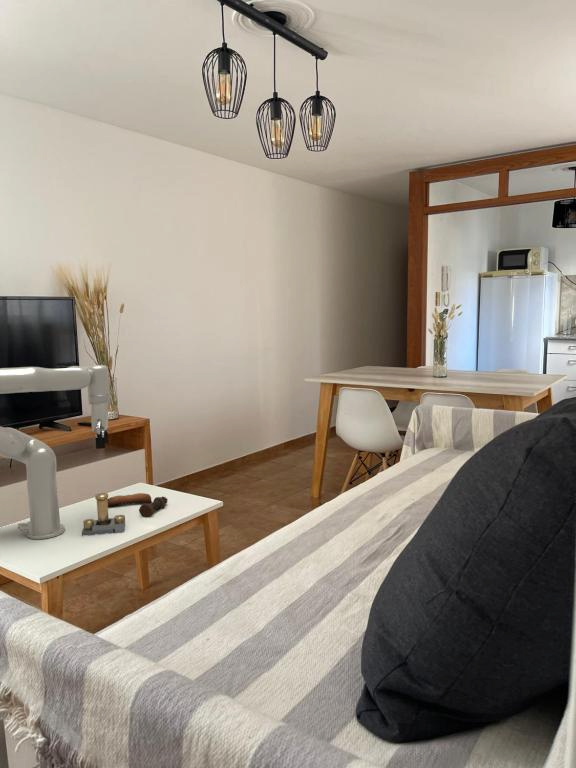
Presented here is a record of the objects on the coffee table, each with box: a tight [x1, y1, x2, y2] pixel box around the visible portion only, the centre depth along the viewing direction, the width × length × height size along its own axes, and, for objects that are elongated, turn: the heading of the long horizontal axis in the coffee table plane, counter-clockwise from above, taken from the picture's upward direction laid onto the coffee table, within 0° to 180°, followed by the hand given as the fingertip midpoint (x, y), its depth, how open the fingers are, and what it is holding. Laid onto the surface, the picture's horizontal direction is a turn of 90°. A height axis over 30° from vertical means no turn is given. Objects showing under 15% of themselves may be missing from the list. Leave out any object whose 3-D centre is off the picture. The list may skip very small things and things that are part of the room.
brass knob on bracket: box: [81, 514, 126, 537], centre depth 207 cm, size 14×7×4 cm, turn 101°
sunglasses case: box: [107, 492, 153, 508], centre depth 237 cm, size 18×7×7 cm
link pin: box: [94, 492, 110, 525], centre depth 206 cm, size 4×4×13 cm
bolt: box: [138, 496, 169, 518], centre depth 227 cm, size 6×5×15 cm
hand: (102, 445), depth 215 cm, fingers open, 9 cm apart
